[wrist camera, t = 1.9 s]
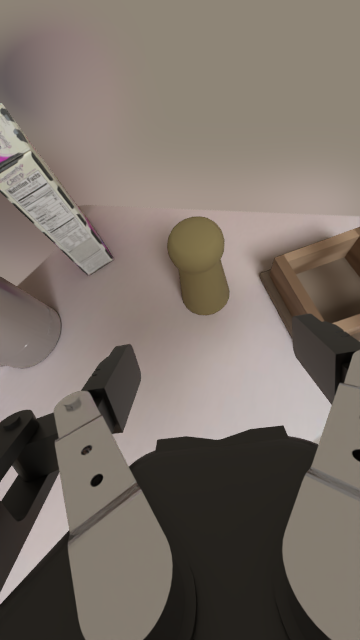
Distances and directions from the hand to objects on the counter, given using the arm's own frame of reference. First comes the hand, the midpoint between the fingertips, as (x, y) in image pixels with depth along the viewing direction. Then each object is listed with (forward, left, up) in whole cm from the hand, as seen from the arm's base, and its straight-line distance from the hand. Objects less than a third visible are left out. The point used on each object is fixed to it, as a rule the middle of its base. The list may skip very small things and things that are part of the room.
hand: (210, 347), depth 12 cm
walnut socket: (+15, +5, -15) cm, 22 cm away
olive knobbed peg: (+2, +11, -15) cm, 19 cm away
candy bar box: (-12, +26, -15) cm, 33 cm away
